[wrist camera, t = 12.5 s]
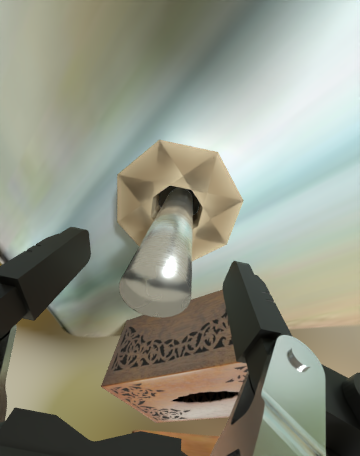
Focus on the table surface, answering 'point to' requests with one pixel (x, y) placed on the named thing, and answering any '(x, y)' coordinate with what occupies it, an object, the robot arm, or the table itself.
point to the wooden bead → (184, 178)
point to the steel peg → (163, 261)
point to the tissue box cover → (178, 364)
